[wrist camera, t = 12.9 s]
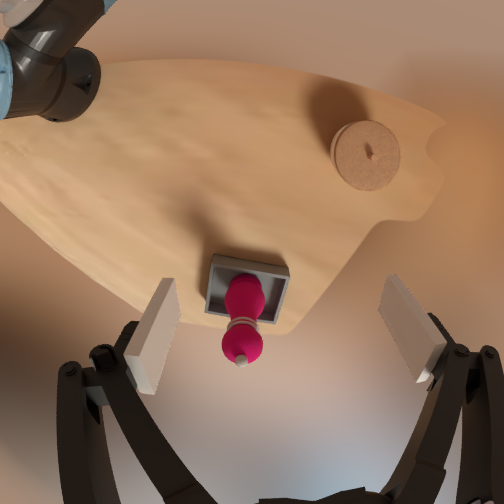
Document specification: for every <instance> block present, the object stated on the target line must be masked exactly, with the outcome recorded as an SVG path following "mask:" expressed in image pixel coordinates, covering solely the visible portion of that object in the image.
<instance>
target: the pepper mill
mask: <svg viewBox="0 0 504 504" xmlns="http://www.w3.org/2000/svg"><path fill="white" fill-rule="evenodd" d="M264 306H265V296H264V293H263V291H262V285H261V282H260V281H259V279H258V278H256V277H255V276H253V275H251V274H240V275H237V276H235V277H234V278H233V279H232V280H231V282H230V284H229V289H228V290H227V292H226V294H225V307H226V310H227V312H228V314H229V315H230V318H231V321H230V322H229V324H228V326H227V332H226V333H225V335H224V337H223V339H222V350H223V352H224V355H225V356H226V357H227V358H228V359H229V360H230V361H232V362H234V363H236V365H237V366H239V367H244V366H246V365H247V364H248V363H251V362H253V361H255V360H256V359H257V358H258V357H259V356H260V354H261V352H262V348H263V341H262V337H261V336H260V334H259V326H258V324H257V323H256V322H257V318H258V317H259V315H260V314H261V313H262V311H263V309H264Z"/></svg>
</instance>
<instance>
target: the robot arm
mask: <svg viewBox="0 0 504 504" xmlns="http://www.w3.org/2000/svg"><path fill="white" fill-rule="evenodd" d="M115 1H117V0H0V12H1V13H3V20H4V25H5V26H6V27H9V28H10V29H9V30H8V32H7V33H6V35H5V36H4V38H3V39H2V40H0V120H2V119H9V118H15V117H23V116H31V115H38V116H40V117H43V118H45V119H47V120H49V121H52V122H67V121H71V120H73V119H75V118H77V117H79V116H80V115H81V114H82V113H84V112H85V111H86V109H87V108H88V107H89V106H90V104H91V103H92V101H93V100H94V98H95V96H96V93H97V91H98V88H99V84H100V78H101V69H100V64H99V61H98V59H97V57H96V56H95V55H94V54H93V53H92V52H91V51H89V50H86V49H83V48H79V47H74V46H75V45H76V44H77V42H78V41H79V40H80V39H81V38H82V37H83V36H84V34H85V33H86V32H87V31H88V30H89V29H90V28H91V27H92V26H93V25H94V24H95V23H96V21H97V20H98V19H99V18H100V17H101V16H102V15H105V14H106V12H107V11H108V9H109V8H110V7H111V6H112V5H113V4H114V3H115ZM378 311H379V313H380V314H381V316H382V318H383V320H384V322H385V324H386V325H387V327H388V329H389V331H390V333H391V335H392V337H393V338H394V340H395V342H396V344H397V346H398V348H399V350H400V351H401V354H402V356H403V358H404V360H405V362H406V364H407V366H408V368H409V370H410V372H411V374H412V376H413V378H414V380H415V382H416V383H418V382H422V381H426V380H428V378H429V376H430V375H431V373H432V374H433V376H434V379H433V381H432V382H431V384H430V386H429V387H428V389H427V391H429V392H428V395H427V398H426V401H425V403H424V406H423V409H422V412H421V414H420V416H419V419H418V421H417V424H416V426H415V429H414V431H413V433H412V436H411V438H410V440H409V442H408V444H407V447H406V449H405V451H404V453H403V455H402V457H401V459H400V461H399V463H398V465H397V467H396V469H395V471H394V473H393V474H392V476H391V478H390V480H389V481H388V483H387V484H386V485H385V487H384V488H383V489H382V490H381V492H380V493H376V492H369V491H365V487H361V488H356V489H351V490H347V491H340V492H338V493H335V494H333V495H330V496H328V497H325V498H322V499H319V500H317V501H307V500H298V499H290V498H272V499H259V503H256V504H434V502H435V499H436V497H437V495H438V493H439V490H440V488H441V485H442V483H443V481H444V478H445V475H446V470H445V469H444V464H445V461H446V458H447V456H448V453H449V450H450V447H451V444H452V440H453V437H454V434H455V430H456V426H457V423H458V419H459V415H460V411H461V407H462V449H461V463H460V473H459V481H458V488H457V496H456V504H504V374H503V369H502V365H501V361H500V357H499V354H498V351H497V350H496V349H495V348H494V347H492V346H488V345H485V346H483V347H482V349H481V350H480V352H470V351H469V349H468V348H467V347H466V346H464V345H462V344H456V343H455V342H454V340H453V339H452V337H451V336H450V335H449V333H448V332H447V330H446V329H445V328H444V327H443V325H442V324H441V322H440V321H439V319H438V318H437V317H436V316H434V315H433V314H432V313H426V312H425V310H424V309H423V308H422V306H421V305H420V303H419V302H418V301H417V300H416V298H415V297H414V296H413V294H412V293H411V292H410V290H409V289H408V288H407V287H406V285H405V284H404V283H403V281H402V280H401V279H400V278H399V276H398V275H397V274H394V275H387V276H386V280H385V284H384V289H383V293H382V297H381V301H380V305H379V308H378ZM180 316H181V311H180V306H179V301H178V295H177V290H176V284H175V278H162V280H161V282H160V284H159V286H158V287H157V289H156V291H155V293H154V295H153V297H152V299H151V301H150V302H149V304H148V306H147V308H146V310H145V312H144V314H143V316H142V318H141V320H140V321H131V322H129V323H128V324H127V325H126V326H125V327H124V329H123V331H122V332H121V335H120V336H119V338H118V340H117V342H116V343H115V345H114V347H113V346H111V345H109V344H102V345H98V346H96V347H94V348H93V349H92V350H91V352H90V354H89V359H90V361H91V363H92V365H93V367H88V368H82V367H81V365H80V364H79V363H78V362H76V361H69V362H66V363H65V364H63V365H62V366H61V367H60V369H59V372H58V385H57V450H58V463H59V473H60V482H61V489H62V495H63V501H64V504H121V502H120V499H119V496H118V492H117V488H116V484H115V480H114V476H113V471H112V467H111V463H110V457H109V452H108V447H107V441H106V435H105V429H104V422H103V414H102V406H104V405H110V406H111V409H112V411H113V413H114V415H115V417H116V419H117V421H118V423H119V425H120V427H121V429H122V431H123V433H124V435H125V437H126V439H127V441H128V443H129V444H130V446H131V448H132V450H133V451H134V453H135V455H136V457H137V458H138V460H139V462H140V464H141V465H142V467H143V469H144V470H145V471H146V473H147V475H148V476H149V478H150V480H151V481H152V483H153V484H154V486H155V487H156V488H157V490H158V492H159V493H160V494H161V496H162V497H163V501H164V502H165V504H218V503H217V502H216V501H215V500H214V499H213V498H212V497H211V496H210V494H209V493H208V492H207V491H206V490H205V489H204V487H203V486H202V485H201V484H200V483H199V482H198V481H197V480H196V479H195V478H194V476H193V475H192V474H191V473H190V471H189V470H188V469H187V467H186V466H185V465H184V464H183V462H182V461H181V460H180V458H179V457H178V456H177V454H176V453H175V451H174V450H173V449H172V447H171V446H170V444H169V443H168V442H167V440H166V439H165V437H164V436H163V434H162V433H161V431H160V430H159V428H158V427H157V425H156V424H155V422H154V420H153V419H152V417H151V416H150V414H149V412H148V411H147V409H146V407H145V406H144V404H143V403H142V401H141V399H140V397H139V396H138V394H137V392H136V388H137V387H138V389H139V391H140V393H145V394H152V395H154V394H155V392H156V388H157V386H158V382H159V379H160V376H161V373H162V370H163V366H164V364H165V360H166V357H167V354H168V351H169V348H170V345H171V342H172V339H173V337H174V334H175V331H176V328H177V325H178V322H179V319H180Z"/></svg>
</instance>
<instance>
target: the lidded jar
mask: <svg viewBox="0 0 504 504" xmlns="http://www.w3.org/2000/svg"><path fill="white" fill-rule="evenodd" d="M330 156H331V161H332V164H333V166H334V168H335V170H336V171H337V173H338V174H339V175H340V177H341V178H342V179H344V181H345V182H347V183H348V184H349V185H350V186H352V187H354V188H356V189H358V190H362V191H376V190H379V189H381V188H384V187H385V186H387V185H388V184H389V183H390V182H391V181H392V180H393V179H394V177H395V176H396V174H397V172H398V169H399V166H400V160H401V154H400V148H399V144H398V141H397V139H396V138H395V136H394V134H393V133H392V132H391V131H390V130H389V129H388V128H387V127H386V126H384V125H383V124H381V123H379V122H376V121H371V120H361V121H356V122H352V123H349V124H347V125H345V126H344V127H342V128H341V129H340V130H339V131H338V132H337V133H336V134H335V136H334V138H333V140H332V143H331V147H330Z"/></svg>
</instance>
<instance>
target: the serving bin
mask: <svg viewBox="0 0 504 504" xmlns="http://www.w3.org/2000/svg"><path fill="white" fill-rule="evenodd" d="M240 274H251V275H253V276H255V277H256V278H258V279H259V281H260V282H261V285H262V291H263V293H264V296H265V306H264V309H263V311H262V313H261V314H260V315H259V317H258V318H257V322H263V323H270V324H276V322H277V319H278V315H279V312H280V309H281V306H282V303H283V299H284V296H285V293H286V289H287V286H288V283H289V279H290V273H289V268H288V267H283V266H277V265H272V264H266V263H260V262H255V261H249V260H244V259H238V258H233V257H227V256H222V255H216V254H214V255H213V259H212V262H211V268H210V275H209V282H208V290H207V297H206V305H205V313H209V314H215V315H220V316H226V317H230V315H229V314H228V312H227V310H226V307H225V294H226V292H227V290H228V289H229V284H230V282H231V280H232V279H233V278H234V277H235V276H237V275H240Z"/></svg>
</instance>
